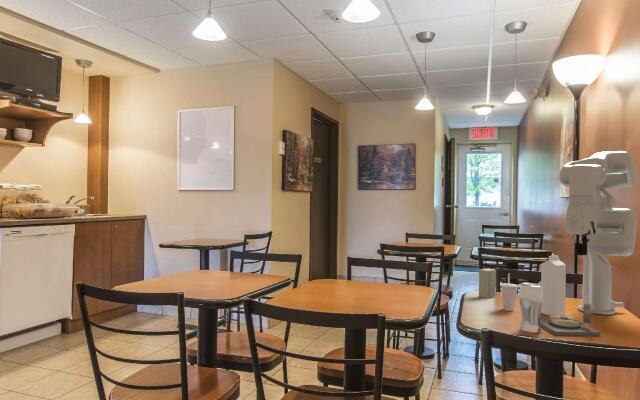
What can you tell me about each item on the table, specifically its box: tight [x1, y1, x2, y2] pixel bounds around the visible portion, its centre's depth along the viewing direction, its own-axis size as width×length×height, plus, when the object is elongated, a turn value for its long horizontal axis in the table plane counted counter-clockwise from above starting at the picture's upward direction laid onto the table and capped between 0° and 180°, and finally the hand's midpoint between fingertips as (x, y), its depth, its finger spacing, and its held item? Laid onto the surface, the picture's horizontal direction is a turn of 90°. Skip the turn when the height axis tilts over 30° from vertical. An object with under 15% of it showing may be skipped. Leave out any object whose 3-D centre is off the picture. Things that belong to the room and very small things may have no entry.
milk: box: [540, 254, 567, 316], centre depth 168 cm, size 6×6×22 cm
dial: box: [548, 304, 592, 328], centre depth 149 cm, size 9×11×7 cm
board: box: [540, 317, 601, 337], centre depth 149 cm, size 14×16×2 cm
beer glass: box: [518, 282, 543, 334], centre depth 146 cm, size 7×7×15 cm
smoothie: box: [500, 272, 519, 312], centre depth 174 cm, size 6×6×14 cm
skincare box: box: [478, 267, 497, 299], centre depth 197 cm, size 6×4×12 cm
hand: (581, 254), depth 153 cm, fingers closed
